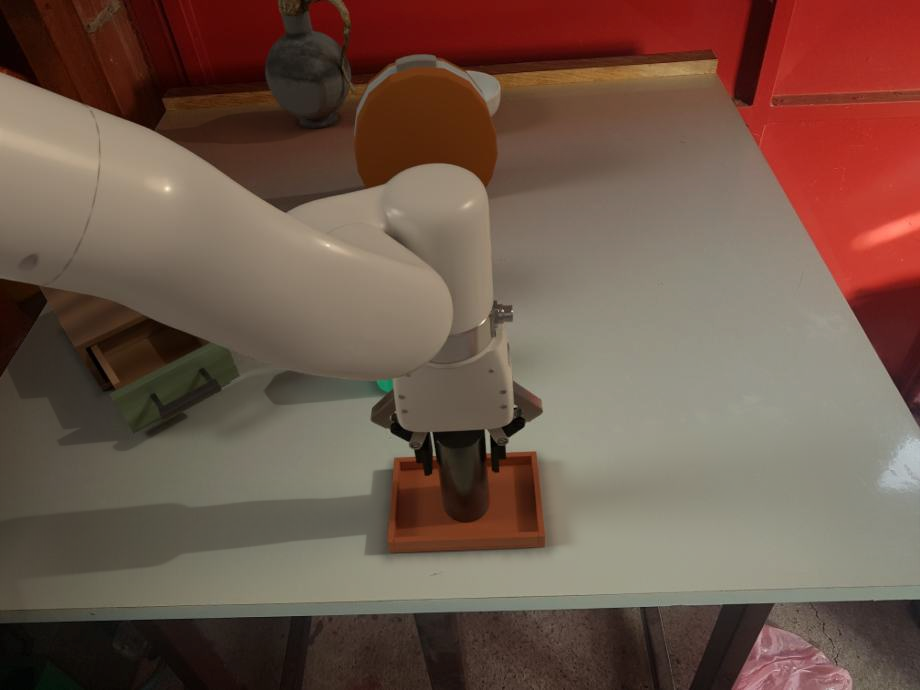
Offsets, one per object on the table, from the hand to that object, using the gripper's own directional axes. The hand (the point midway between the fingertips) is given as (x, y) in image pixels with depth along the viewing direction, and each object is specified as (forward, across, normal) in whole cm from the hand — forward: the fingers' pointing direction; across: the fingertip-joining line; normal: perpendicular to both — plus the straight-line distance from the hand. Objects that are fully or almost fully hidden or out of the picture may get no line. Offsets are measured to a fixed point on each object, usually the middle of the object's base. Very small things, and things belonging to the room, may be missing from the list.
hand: (461, 461), depth 66 cm
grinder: (+7, 0, 0) cm, 7 cm away
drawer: (+6, +36, -19) cm, 42 cm away
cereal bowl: (+8, +1, -86) cm, 87 cm away
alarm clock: (+8, +6, -62) cm, 63 cm away
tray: (+7, 0, 0) cm, 7 cm away
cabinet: (+7, +45, -30) cm, 54 cm away
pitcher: (+8, +27, -91) cm, 95 cm away
